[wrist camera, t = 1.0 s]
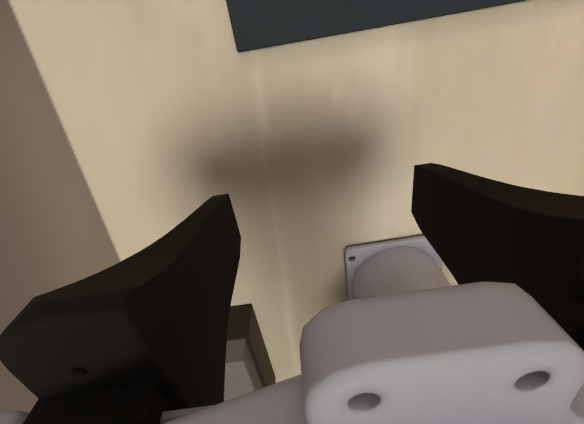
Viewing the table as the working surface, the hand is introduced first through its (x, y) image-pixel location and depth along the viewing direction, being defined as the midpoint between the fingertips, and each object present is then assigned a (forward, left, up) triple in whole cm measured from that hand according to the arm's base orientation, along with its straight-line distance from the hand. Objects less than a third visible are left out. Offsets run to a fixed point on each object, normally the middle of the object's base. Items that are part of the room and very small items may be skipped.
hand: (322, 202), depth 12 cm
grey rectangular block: (-21, +9, -9) cm, 24 cm away
